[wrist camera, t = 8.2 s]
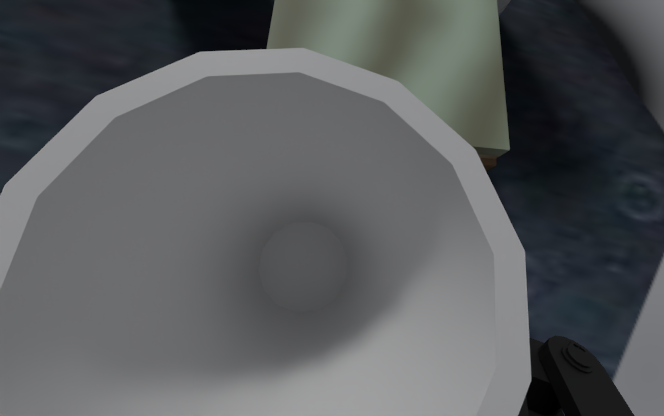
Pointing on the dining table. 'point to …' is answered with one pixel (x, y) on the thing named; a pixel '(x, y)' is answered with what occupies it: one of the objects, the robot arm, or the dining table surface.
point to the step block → (414, 55)
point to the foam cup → (259, 253)
